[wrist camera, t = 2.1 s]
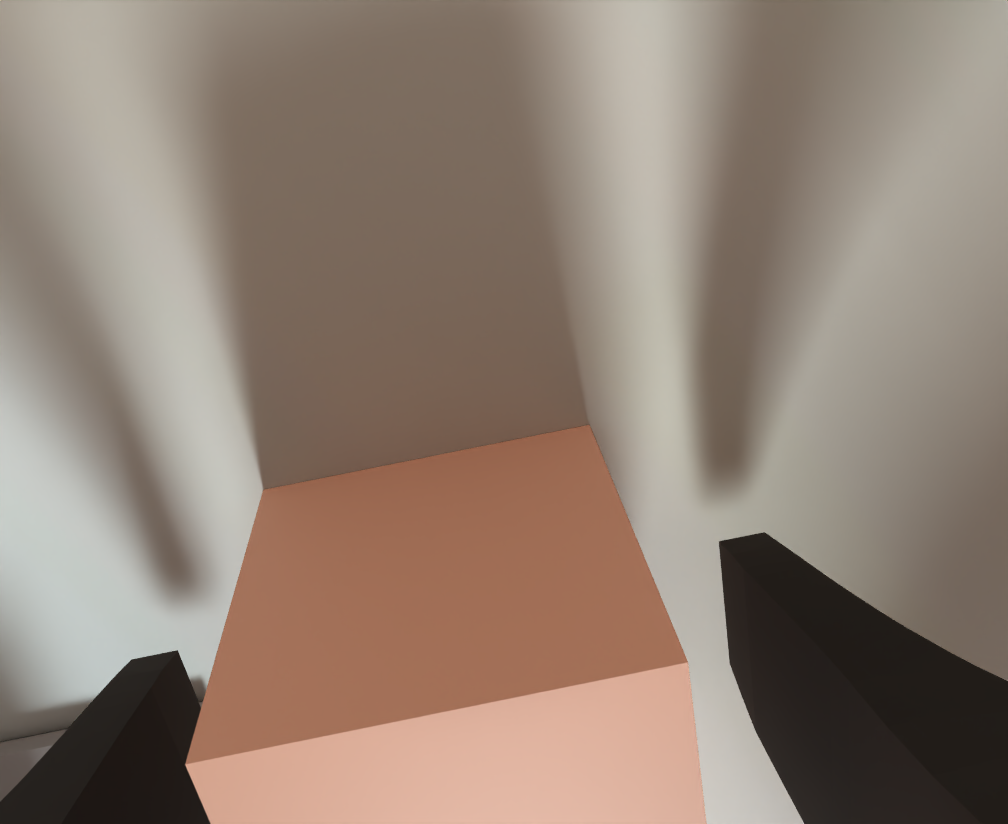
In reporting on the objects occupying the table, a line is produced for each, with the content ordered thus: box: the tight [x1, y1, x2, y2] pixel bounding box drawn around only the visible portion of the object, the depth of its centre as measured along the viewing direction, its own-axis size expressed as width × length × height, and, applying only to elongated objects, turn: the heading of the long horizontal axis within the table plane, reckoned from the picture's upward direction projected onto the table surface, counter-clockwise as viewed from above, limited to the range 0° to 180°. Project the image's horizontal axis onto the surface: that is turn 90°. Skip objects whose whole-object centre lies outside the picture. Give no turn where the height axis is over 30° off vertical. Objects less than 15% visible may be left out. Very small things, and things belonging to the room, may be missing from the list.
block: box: [185, 425, 706, 824], centre depth 11 cm, size 4×4×5 cm
